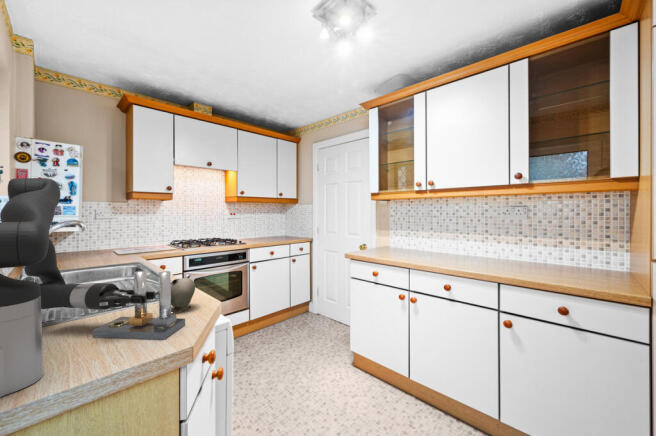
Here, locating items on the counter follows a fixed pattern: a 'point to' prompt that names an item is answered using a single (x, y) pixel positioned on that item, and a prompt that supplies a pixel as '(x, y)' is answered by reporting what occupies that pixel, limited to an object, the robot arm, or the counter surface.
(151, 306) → the counter surface
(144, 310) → the sliding leg
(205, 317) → the counter surface
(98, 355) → the counter surface
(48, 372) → the counter surface
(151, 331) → the pitch plate
